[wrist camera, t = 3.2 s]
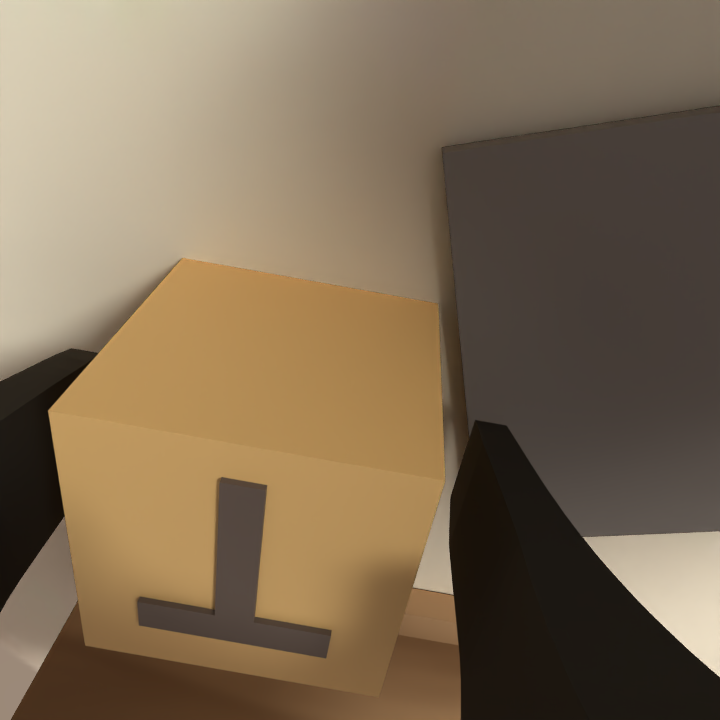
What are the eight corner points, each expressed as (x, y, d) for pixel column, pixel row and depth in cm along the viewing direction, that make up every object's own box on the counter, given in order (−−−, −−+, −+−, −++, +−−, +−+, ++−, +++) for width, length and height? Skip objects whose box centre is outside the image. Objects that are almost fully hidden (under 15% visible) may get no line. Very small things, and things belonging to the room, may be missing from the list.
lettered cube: (391, 490, 14) (377, 707, 10) (184, 454, 14) (83, 654, 10) (438, 301, 12) (445, 486, 7) (183, 256, 12) (44, 415, 7)
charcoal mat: (897, 509, 13) (910, 523, 13) (477, 528, 15) (478, 541, 14) (1076, 52, 9) (1103, 54, 8) (442, 147, 10) (442, 152, 10)
